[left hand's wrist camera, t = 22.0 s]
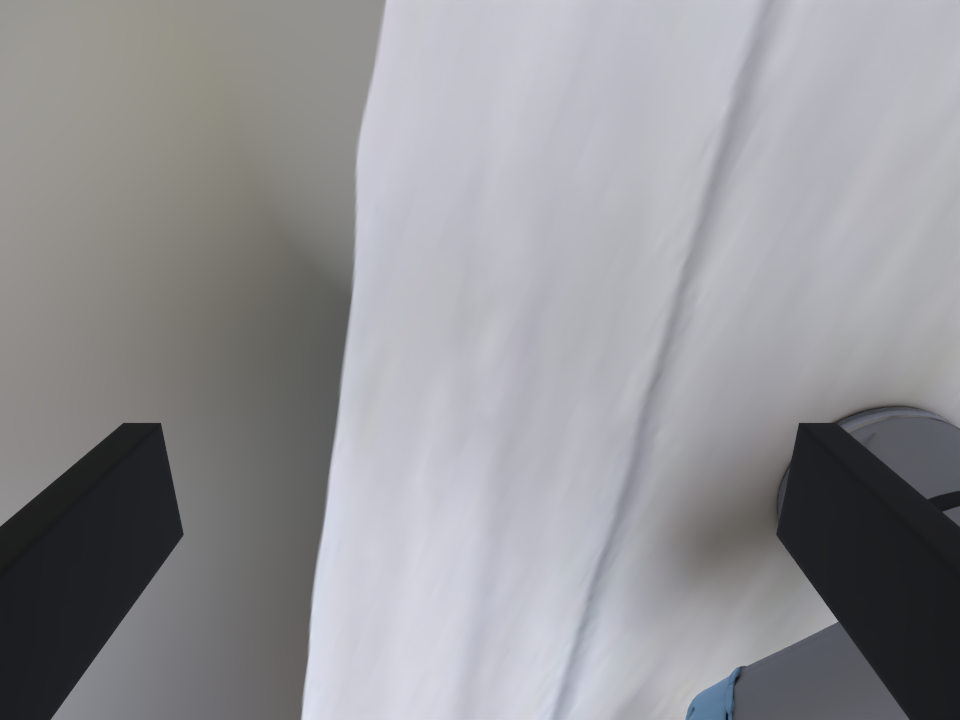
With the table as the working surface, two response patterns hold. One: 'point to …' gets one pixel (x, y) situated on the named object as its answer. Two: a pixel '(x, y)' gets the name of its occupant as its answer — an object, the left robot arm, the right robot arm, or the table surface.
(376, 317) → the table surface
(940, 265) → the table surface
